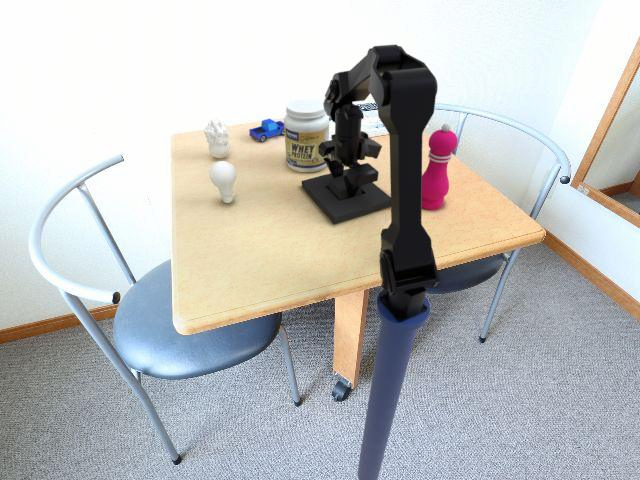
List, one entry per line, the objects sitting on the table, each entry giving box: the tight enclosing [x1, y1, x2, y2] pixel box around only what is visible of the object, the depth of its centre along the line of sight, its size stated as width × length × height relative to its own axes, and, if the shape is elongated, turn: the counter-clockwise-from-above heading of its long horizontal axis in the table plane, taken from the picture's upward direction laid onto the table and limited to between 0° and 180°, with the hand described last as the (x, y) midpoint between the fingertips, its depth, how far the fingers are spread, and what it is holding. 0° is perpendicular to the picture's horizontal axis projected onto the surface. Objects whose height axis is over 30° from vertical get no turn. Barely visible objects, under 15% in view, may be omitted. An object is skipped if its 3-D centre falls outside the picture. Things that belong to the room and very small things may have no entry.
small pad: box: [329, 174, 362, 201], centre depth 91 cm, size 6×6×4 cm
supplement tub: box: [283, 98, 330, 173], centre depth 101 cm, size 12×12×17 cm
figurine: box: [203, 117, 231, 159], centre depth 106 cm, size 7×7×12 cm
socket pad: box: [300, 167, 391, 225], centre depth 92 cm, size 18×16×2 cm
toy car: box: [248, 118, 285, 143], centre depth 119 cm, size 7×12×5 cm, turn 127°
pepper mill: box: [422, 122, 459, 211], centre depth 84 cm, size 7×7×20 cm
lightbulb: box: [208, 160, 237, 204], centre depth 87 cm, size 6×6×11 cm
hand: (345, 191), depth 92 cm, fingers closed on small pad, 6 cm apart
